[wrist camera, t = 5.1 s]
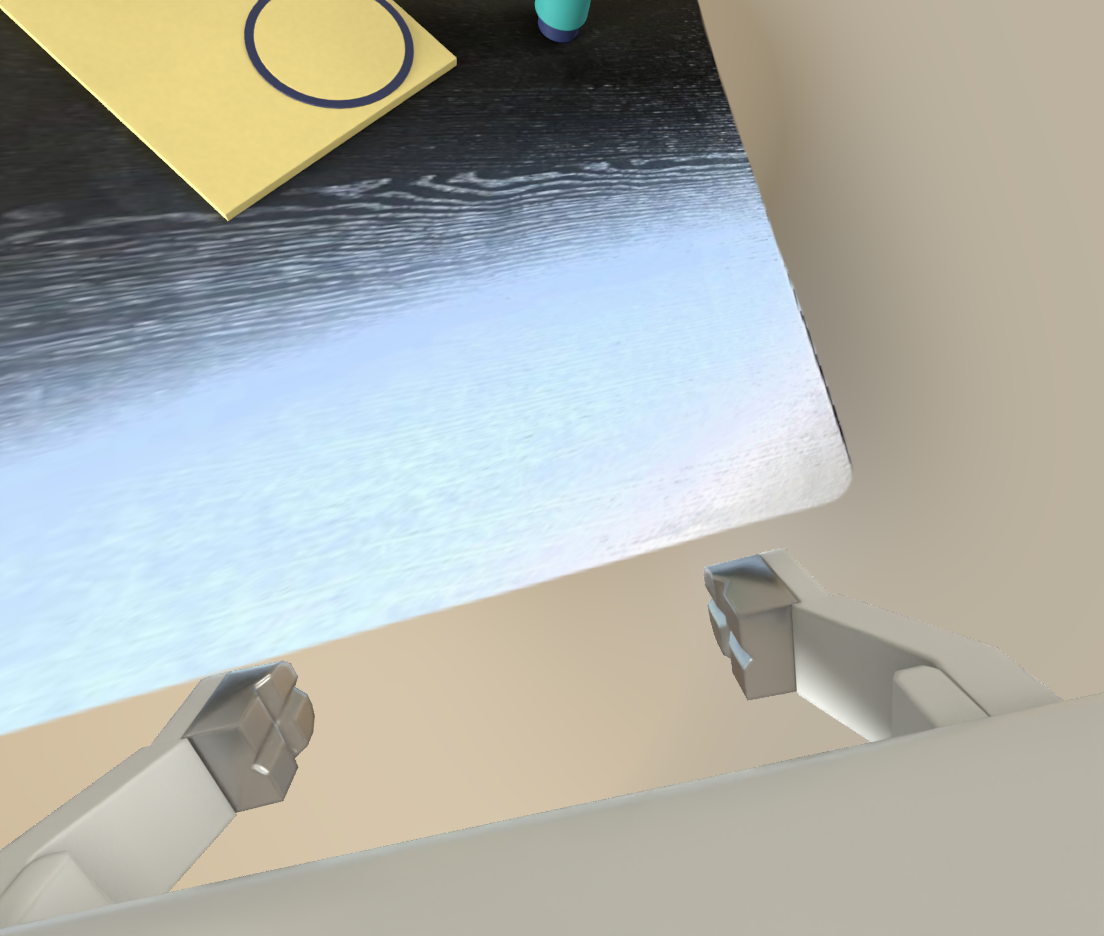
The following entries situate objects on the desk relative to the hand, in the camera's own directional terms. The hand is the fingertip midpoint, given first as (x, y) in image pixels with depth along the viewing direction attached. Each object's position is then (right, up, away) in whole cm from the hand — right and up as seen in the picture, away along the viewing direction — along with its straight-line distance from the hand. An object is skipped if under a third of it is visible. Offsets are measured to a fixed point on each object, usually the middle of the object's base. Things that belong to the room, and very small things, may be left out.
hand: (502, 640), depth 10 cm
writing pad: (-20, +32, +26) cm, 46 cm away
